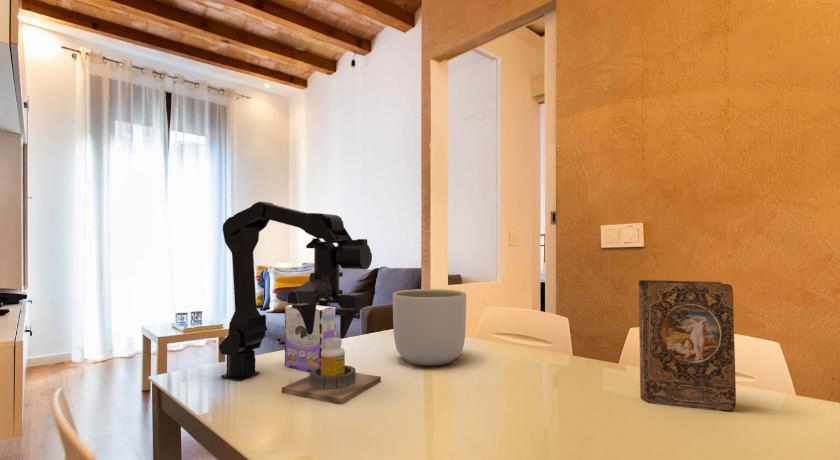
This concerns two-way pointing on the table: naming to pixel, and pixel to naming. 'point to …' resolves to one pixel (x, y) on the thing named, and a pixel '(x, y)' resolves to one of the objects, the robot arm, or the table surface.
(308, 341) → the candy box
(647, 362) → the book
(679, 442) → the table surface
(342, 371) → the supplement bottle
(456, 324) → the planter
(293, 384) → the collar holder
